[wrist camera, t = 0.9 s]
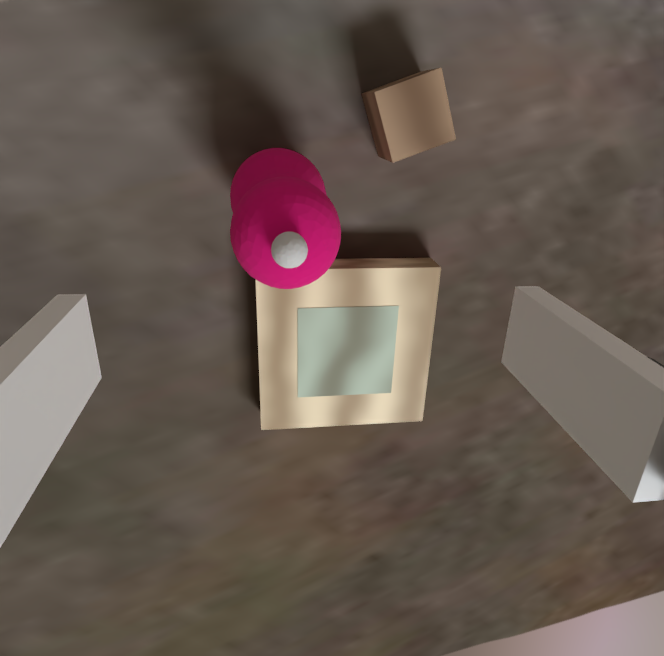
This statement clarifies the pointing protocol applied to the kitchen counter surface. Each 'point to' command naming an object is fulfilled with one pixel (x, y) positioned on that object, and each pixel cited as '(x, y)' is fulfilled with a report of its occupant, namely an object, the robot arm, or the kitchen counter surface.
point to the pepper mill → (282, 219)
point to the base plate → (348, 344)
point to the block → (409, 115)
